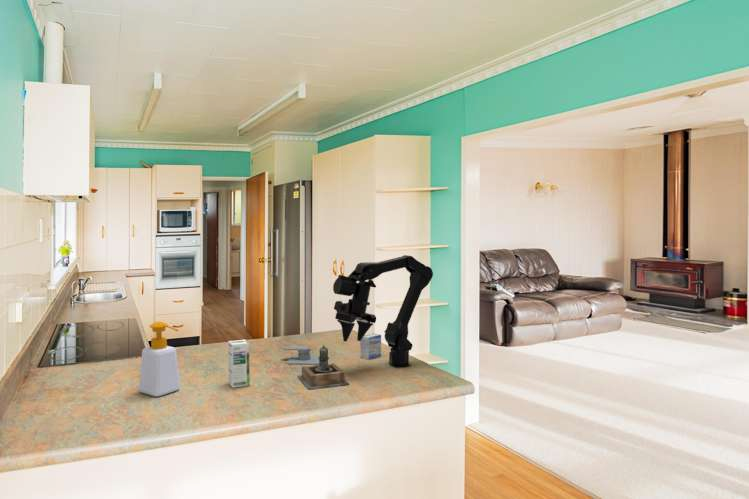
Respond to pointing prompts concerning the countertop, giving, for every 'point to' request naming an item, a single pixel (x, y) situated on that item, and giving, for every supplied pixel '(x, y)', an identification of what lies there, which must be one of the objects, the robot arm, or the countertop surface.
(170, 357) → the soap bottle
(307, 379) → the holder
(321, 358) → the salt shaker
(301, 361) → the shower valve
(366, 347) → the medicine box
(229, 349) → the syrup box
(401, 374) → the countertop surface
